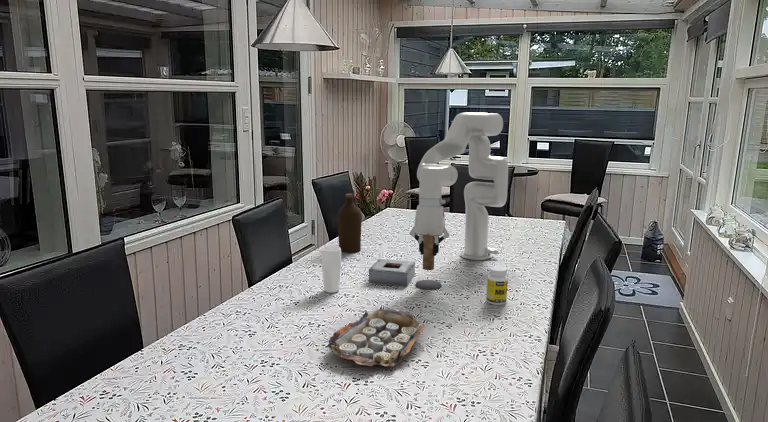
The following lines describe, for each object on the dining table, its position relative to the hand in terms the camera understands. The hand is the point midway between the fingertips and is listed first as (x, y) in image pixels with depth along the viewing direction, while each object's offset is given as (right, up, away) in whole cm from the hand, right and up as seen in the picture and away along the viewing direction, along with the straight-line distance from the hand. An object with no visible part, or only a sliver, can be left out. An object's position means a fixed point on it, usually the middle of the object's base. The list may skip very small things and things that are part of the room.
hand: (428, 253), depth 184 cm
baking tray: (-17, -21, -45) cm, 53 cm away
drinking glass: (-33, -13, -3) cm, 36 cm away
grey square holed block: (-12, -10, +10) cm, 19 cm away
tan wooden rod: (0, -5, +1) cm, 5 cm away
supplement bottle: (+21, -15, -13) cm, 29 cm away
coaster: (0, -11, +2) cm, 12 cm away
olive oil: (-30, -3, +48) cm, 57 cm away
